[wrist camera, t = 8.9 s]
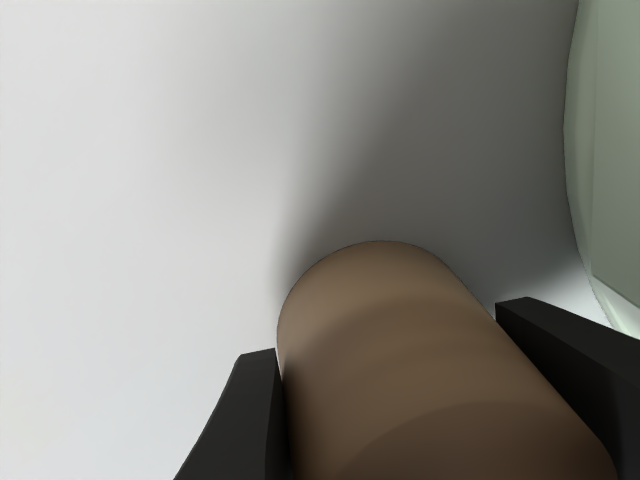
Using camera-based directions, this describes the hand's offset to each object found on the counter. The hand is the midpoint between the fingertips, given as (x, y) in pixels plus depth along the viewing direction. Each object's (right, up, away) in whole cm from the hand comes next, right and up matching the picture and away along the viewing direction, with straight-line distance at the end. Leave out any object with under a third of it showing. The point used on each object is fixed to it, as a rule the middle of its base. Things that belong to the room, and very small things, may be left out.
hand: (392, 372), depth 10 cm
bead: (0, +1, +1) cm, 1 cm away
